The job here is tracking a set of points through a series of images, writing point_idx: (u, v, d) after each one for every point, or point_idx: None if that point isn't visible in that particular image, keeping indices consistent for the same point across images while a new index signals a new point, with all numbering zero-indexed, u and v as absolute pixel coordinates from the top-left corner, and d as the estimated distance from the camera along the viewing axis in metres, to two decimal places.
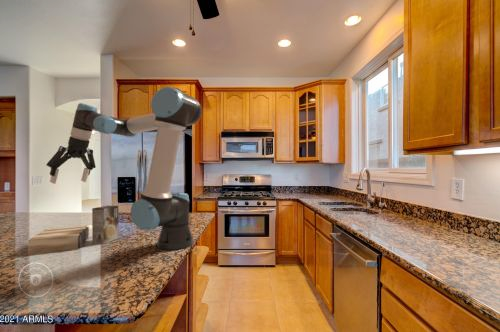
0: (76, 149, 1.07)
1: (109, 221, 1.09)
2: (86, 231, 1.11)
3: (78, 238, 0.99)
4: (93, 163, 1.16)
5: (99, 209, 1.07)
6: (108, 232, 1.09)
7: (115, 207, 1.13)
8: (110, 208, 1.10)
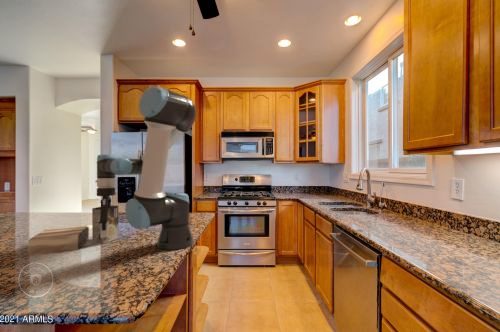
0: (108, 198, 1.11)
1: (109, 221, 1.09)
2: (86, 231, 1.11)
3: (78, 238, 0.99)
4: None
5: (99, 209, 1.07)
6: (108, 232, 1.09)
7: (115, 207, 1.13)
8: (110, 208, 1.10)
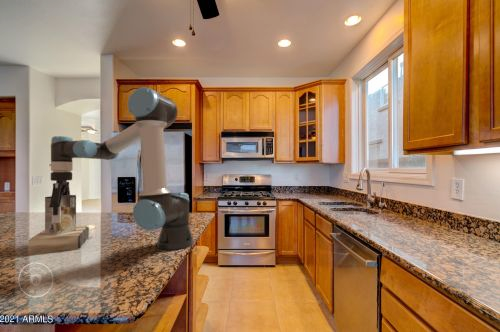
0: (63, 183, 1.04)
1: (64, 211, 1.02)
2: (86, 231, 1.11)
3: (78, 238, 0.99)
4: None
5: None
6: (62, 222, 1.01)
7: (72, 196, 1.06)
8: (65, 197, 1.03)
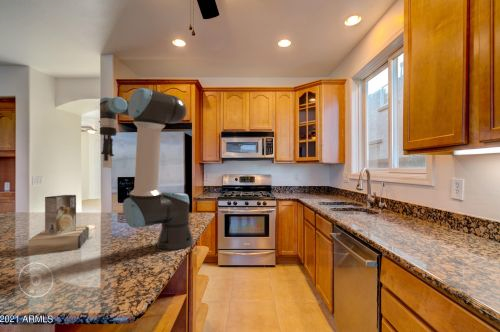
0: (110, 137, 1.25)
1: (64, 211, 1.02)
2: (86, 231, 1.11)
3: (78, 238, 0.99)
4: None
5: (52, 198, 1.00)
6: (62, 222, 1.01)
7: (72, 196, 1.06)
8: (65, 197, 1.03)
